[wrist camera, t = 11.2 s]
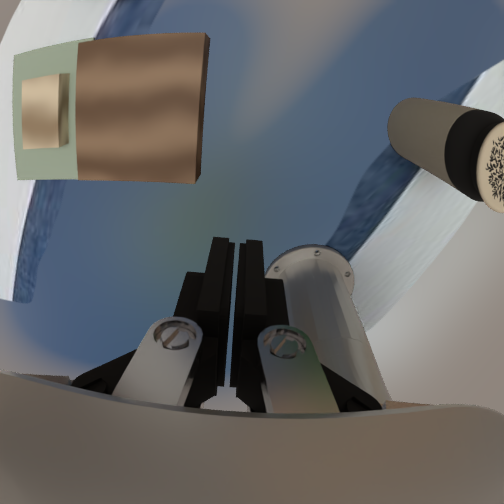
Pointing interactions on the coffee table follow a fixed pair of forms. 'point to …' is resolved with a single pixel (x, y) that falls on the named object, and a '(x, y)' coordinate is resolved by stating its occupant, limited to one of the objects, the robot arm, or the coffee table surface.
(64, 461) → the robot arm
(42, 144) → the maple tile
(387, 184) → the coffee table surface
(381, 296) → the coffee table surface
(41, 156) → the rubber mat
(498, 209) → the beige canister
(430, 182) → the coffee table surface
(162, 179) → the walnut board
